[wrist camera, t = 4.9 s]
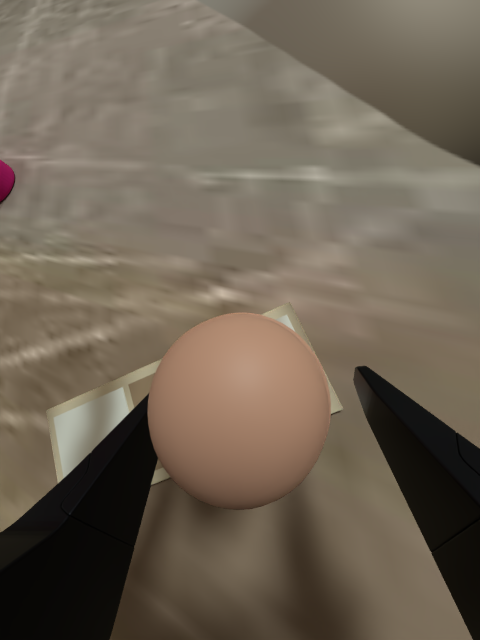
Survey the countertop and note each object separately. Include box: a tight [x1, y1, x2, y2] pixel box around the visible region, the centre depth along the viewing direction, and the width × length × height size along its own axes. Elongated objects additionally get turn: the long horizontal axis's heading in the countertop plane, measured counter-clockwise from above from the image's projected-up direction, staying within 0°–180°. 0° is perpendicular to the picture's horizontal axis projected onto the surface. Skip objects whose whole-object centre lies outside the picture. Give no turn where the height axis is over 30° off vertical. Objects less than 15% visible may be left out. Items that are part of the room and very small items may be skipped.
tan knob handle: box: [148, 313, 331, 510], centre depth 10 cm, size 6×6×14 cm
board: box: [46, 302, 343, 485], centre depth 18 cm, size 25×9×1 cm, turn 113°
